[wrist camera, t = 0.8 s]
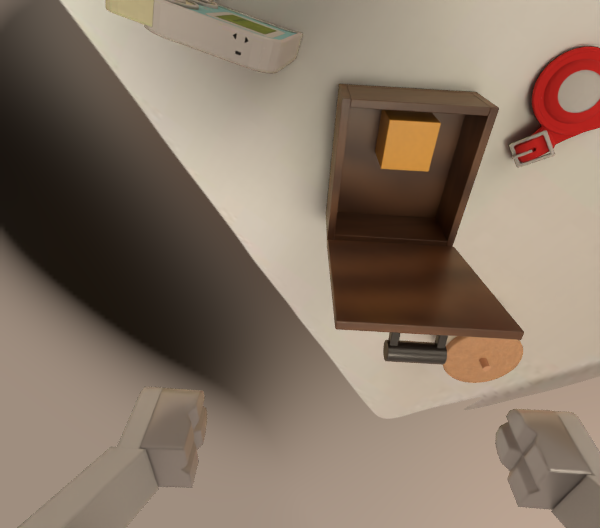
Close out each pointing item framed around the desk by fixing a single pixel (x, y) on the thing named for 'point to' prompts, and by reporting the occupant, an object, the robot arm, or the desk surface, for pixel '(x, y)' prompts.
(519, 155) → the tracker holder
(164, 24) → the handheld gaming console
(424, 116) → the block
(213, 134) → the desk surface
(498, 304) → the lid
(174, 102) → the desk surface
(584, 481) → the robot arm
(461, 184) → the chest
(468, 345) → the trinket box
